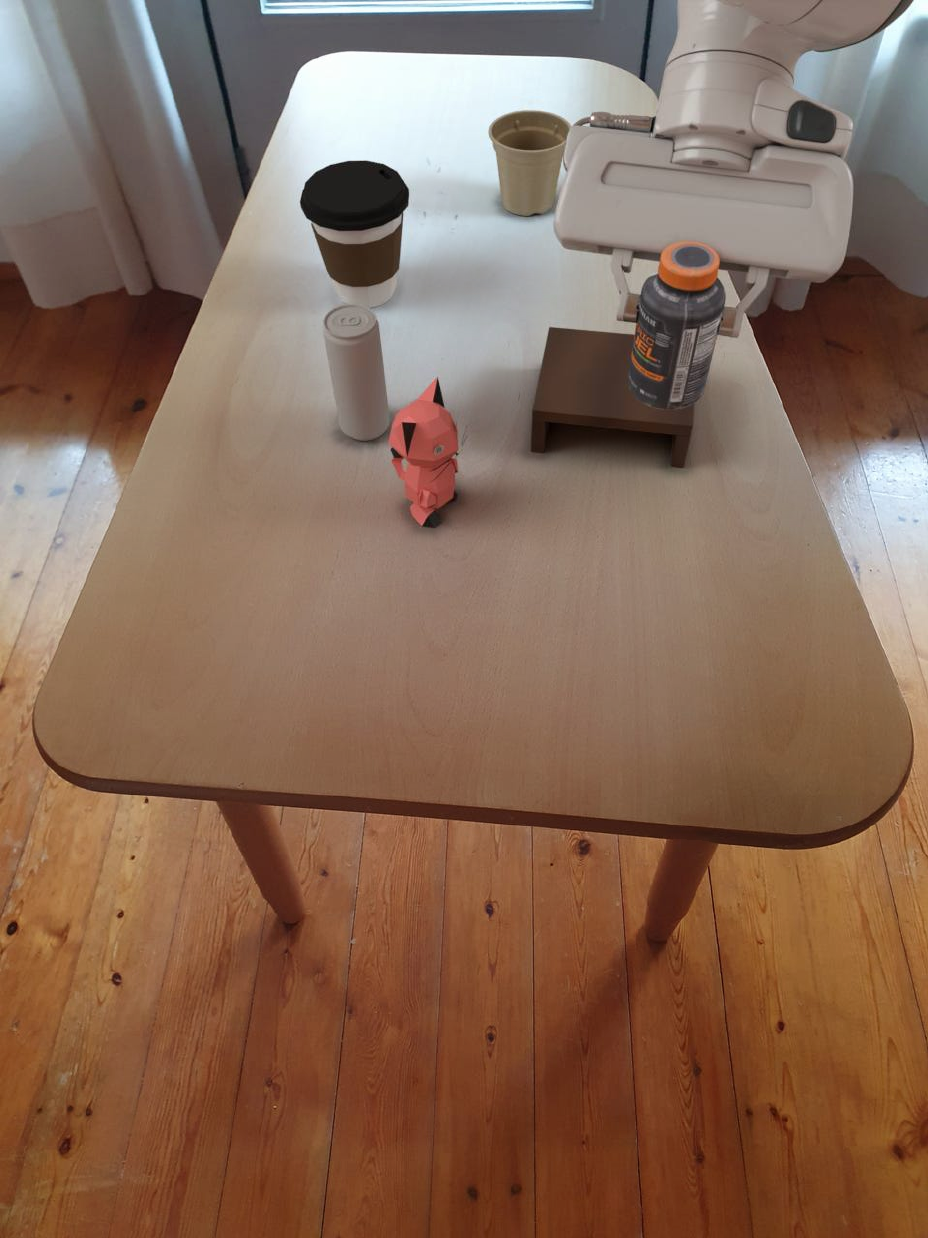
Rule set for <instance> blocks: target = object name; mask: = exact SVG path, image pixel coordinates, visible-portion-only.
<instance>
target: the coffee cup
mask: <svg viewBox="0 0 928 1238" xmlns="http://www.w3.org/2000/svg"><path fill="white" fill-rule="evenodd" d="M409 203H410V188H409V187H408V185H407V184H406V183H405V180H404V178H402V176H401V175H400V173H399V171H397V170H396V169H393V168H392V167H390V166H389V165H386V164H384V163H381V162H376V161H371V160H368V159H367V160H345V161H341V162H336V163H332V164H331V163H330V164H328V165H327V166H325V167H323V168H321V169H319V170H316V171H315V172H314V173H313V174H312V175H311V176H310V177H309V178H308V179H307V180H306V181H305V182H304V186H303V189H302V191H301V196H300V199H299V206H300V209H301V211H302V213H303V214H304V217H305V218H306V219H307V220H308V221H310V226H311V228H312V232H313V234H314V237H315V241H316V243H317V246H318V249H319V252H320V255H321V257H322V261H323V264H324V268H325V270H326V272H327V274H328V276H329V277H330V280H331V282H332V285H333V288H334V291H335V293H336V294H337V296H338V298H339V299H340V300H341V301H342V302H343V303H344V304H360V305H364V306H366V307H368V308H370V309H372V308H376V307H380V306H382V305H383V304H385V303H387V302H389V301H390V300H391V298H392V297H393V296H394V294H395V292H396V289H397V284H398V283H397V282H398V271H399V270H400V265H401V253H402V240H403V227H404V226H403V225H404V212H405V210H406V209H407V208H408V207H409Z"/></svg>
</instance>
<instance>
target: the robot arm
mask: <svg viewBox="0 0 928 1238" xmlns="http://www.w3.org/2000/svg"><path fill="white" fill-rule="evenodd" d="M914 1H915V0H677V3H676V16H677V33H676V38H675V41H674V45H673V47H672V49H671V51H670V52H669V55H668V58H667V60H666V62H665V66H664V71H663V76H662V81H661V86H660V92H659V97H658V101H657V102H658V103H657V107H656V112H655V115H654V116H647V115H636V114H625V115H624V114H621V115H620V114H611V112H607V111H594V112H593V111H592V112H591V115H590V116H587V117H583V118H580V119H579V120H577V121H576V122H574V123H573V125H571V128H570V130H569V132H568V134H567V137H566V142H565V148H564V154H563V158H562V164H563V168H564V170H565V172H566V173H565V176H564V179H563V183H562V185H561V190H560V193H559V196H558V200H557V204H556V208H555V213H554V217H553V227H552V228H553V232H554V235H555V237H556V239H557V241H558V243H559V244H560V245H561V246H562V247H563V249H565V250H570V251H577V252H583V253H591V254H600V255H606V256H611V259H610V270H611V273H612V276H613V279H614V282H615V285H616V288H617V291H618V294H619V299H618V305H617V312H616V321H618V322H625V323H633V324H636V323H637V316H638V309H639V303H640V296H641V294H639V293H633V292H631V291H630V288H629V285H628V282H627V279H626V276H625V273H626V274H630V273H631V272H632V267H633V262H634V259H637V260H643V261H653V262H657V263H658V262H659V263H660V258H661V254H662V252H663V250H664V249H665V248H666V247H668V246H669V245H671V244H674V243H677V242H682V241H693V242H699V243H703V244H705V245H707V246H709V247H711V248H712V249H714V250H715V251H716V253H717V254H718V256H719V259H720V263H719V268H718V271H719V270H720V271H726V272H734V273H741V274H742V273H743V274H746V275H745V281H744V285H743V288H744V289H745V290H748V291H747V293H746V294H745V295H744V296H743V298H741V300H740V301H739V302H738V304H737V305H736V306H735V307H732V306H724V309H723V313H722V318H721V322H720V326H719V331H718V334H717V335H718V336H722V337H727V338H734V339H735V338H736V339H738V338H739V336H740V333H741V329H742V324H743V320H744V315H745V314H746V313H747V311H749V309H750V308H751V307H752V305H753V304H754V303H756V301H757V300H758V298H759V297H760V296H761V295H762V294H763V292H764V291H765V289H766V287H767V284H768V279H769V277H773V278H778V279H779V278H780V279H785V280H793V281H801V282H807V283H808V282H810V283H816V284H820V283H825V282H826V281H827V280H829V279H830V278H832V277H833V276H834V275H835V274H836V273H837V272H838V271H840V269H841V268H842V266H843V263H844V261H845V258H846V253H847V249H848V248H847V247H848V243H849V238H850V231H851V225H852V214H853V204H854V179H853V174H852V172H851V169H850V167H849V165H848V164H847V162H846V161H845V160H844V159H845V157H846V155H847V154H848V150H849V148H850V145H851V141H852V137H853V131H854V122H853V120H852V118H851V117H849V116H848V115H847V114H845V113H843V112H841V111H839V110H838V109H835V108H833V107H830V106H828V105H826V104H824V103H822V102H819V100H816V99H813V98H811V97H810V96H807V95H805V94H803V93H802V92H799V91H798V90H796V89H794V84H795V70H796V65H797V63H798V62H799V60H800V58H802V56H803V55H804V54H806V53H809V52H812V51H813V52H816V53H827V52H834V51H837V50H840V49H844V48H849V47H851V46H854V45H858V44H861V43H862V42H864V41H866V40H868V39H871V38H873V37H874V36H876V35H877V34H880V33H881V32H883V31H884V30H886V29H887V28H888V27H890V26H891V25H892V24H893V23H894V22H895V21H897V20H898V19H899V18H900V17H901V16H902V15H903V14H904V13H905V12H906V11H907V10H908V9H909V8H910V7H911V5H912V3H913V2H914ZM588 124H589V126H587V125H588Z"/></svg>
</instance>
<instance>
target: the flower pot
mask: <svg viewBox="0 0 928 1238" xmlns="http://www.w3.org/2000/svg"><path fill="white" fill-rule="evenodd" d="M571 127H572V125H571V123H570V122H569V121H568V120H567V119H566V118H564V117H562V116H561V115H559V114H556V113H553V112H549V111H543V110H535V109H534V110H533V109H532V110H531V109H525V110H516V111H512V112H511V111H510V112H508V113H504V114H502V115H501V116H499V117H497V118H496V119H494V120H493V121H492V122H491V123H490V125H489V127H488V137H489V139H490V141H491V142H492V149H493V151H494V152H495V157H496V166H497V174H498V181H499V190H500V201H501V203H502V205H503V207H504V209H505V210H506V211H508V212H509V213H512V214H514V215H519V216H523V217H530V216H532V215H533V214H540V215H542V214H544V213H546V212H548V211H549V210H550V209H551V208H552V207H553V205H554V203H555V197H556V192H557V188H558V182H559V178H560V172H561V168H562V164H563V154H564V148H565V142H566V137H567V134H568V132H569V130H570V128H571Z"/></svg>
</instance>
